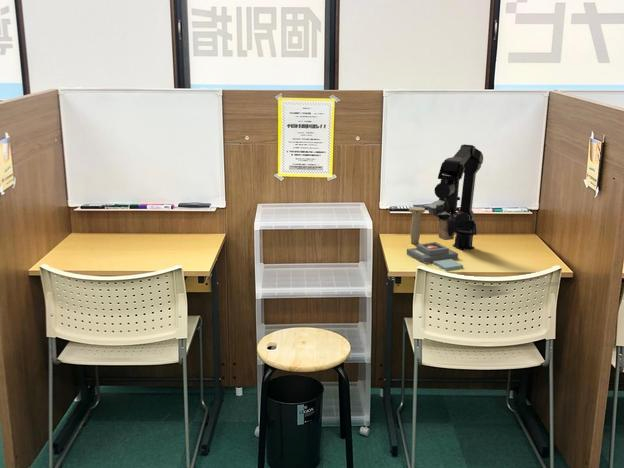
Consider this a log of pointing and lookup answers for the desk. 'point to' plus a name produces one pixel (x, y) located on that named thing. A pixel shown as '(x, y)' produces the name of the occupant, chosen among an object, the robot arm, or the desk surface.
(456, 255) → the grey stepped block
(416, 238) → the handle
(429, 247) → the button
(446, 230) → the brown upright block
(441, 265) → the pad
